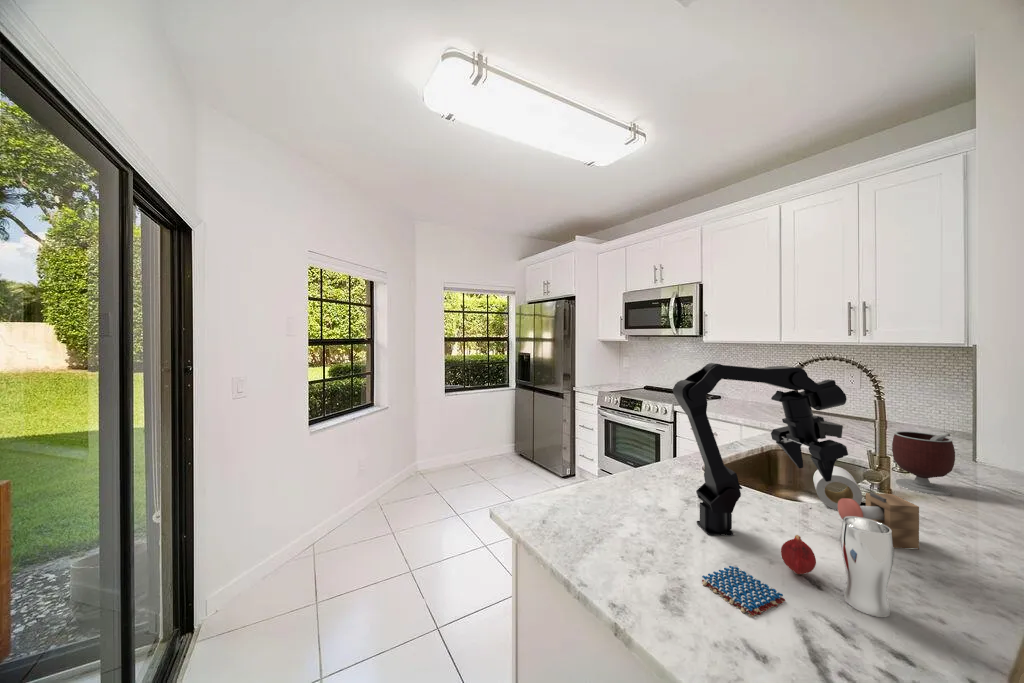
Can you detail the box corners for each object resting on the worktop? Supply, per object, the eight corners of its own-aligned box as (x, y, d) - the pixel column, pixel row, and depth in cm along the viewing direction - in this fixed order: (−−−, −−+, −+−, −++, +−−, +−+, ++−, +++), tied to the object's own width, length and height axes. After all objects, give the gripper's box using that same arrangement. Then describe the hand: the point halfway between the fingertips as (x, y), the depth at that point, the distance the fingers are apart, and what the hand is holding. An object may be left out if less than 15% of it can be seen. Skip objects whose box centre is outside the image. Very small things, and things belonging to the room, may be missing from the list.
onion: (822, 584, 74) (822, 545, 74) (790, 581, 75) (790, 541, 75) (805, 567, 79) (805, 530, 79) (775, 564, 81) (775, 527, 80)
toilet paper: (813, 494, 117) (813, 462, 117) (855, 502, 111) (855, 469, 111) (816, 505, 109) (816, 472, 109) (862, 515, 103) (862, 479, 103)
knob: (856, 529, 88) (856, 504, 88) (837, 517, 94) (837, 494, 94) (892, 531, 87) (892, 506, 87) (870, 519, 93) (870, 495, 93)
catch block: (889, 547, 87) (889, 501, 87) (864, 532, 94) (864, 489, 94) (919, 549, 86) (919, 503, 86) (892, 533, 93) (892, 491, 93)
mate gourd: (880, 478, 129) (880, 422, 129) (925, 480, 128) (925, 423, 127) (923, 497, 114) (923, 433, 114) (975, 500, 112) (975, 434, 112)
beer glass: (831, 593, 71) (831, 516, 71) (864, 591, 72) (864, 514, 72) (868, 621, 64) (868, 535, 64) (905, 618, 65) (905, 533, 65)
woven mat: (751, 622, 65) (751, 611, 65) (699, 585, 74) (699, 575, 74) (788, 605, 69) (788, 594, 69) (734, 572, 78) (734, 563, 78)
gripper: (863, 414, 84) (880, 481, 84) (804, 401, 103) (818, 455, 102) (813, 425, 85) (830, 491, 85) (763, 410, 103) (777, 464, 103)
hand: (813, 474), depth 94 cm, fingers open, 9 cm apart
